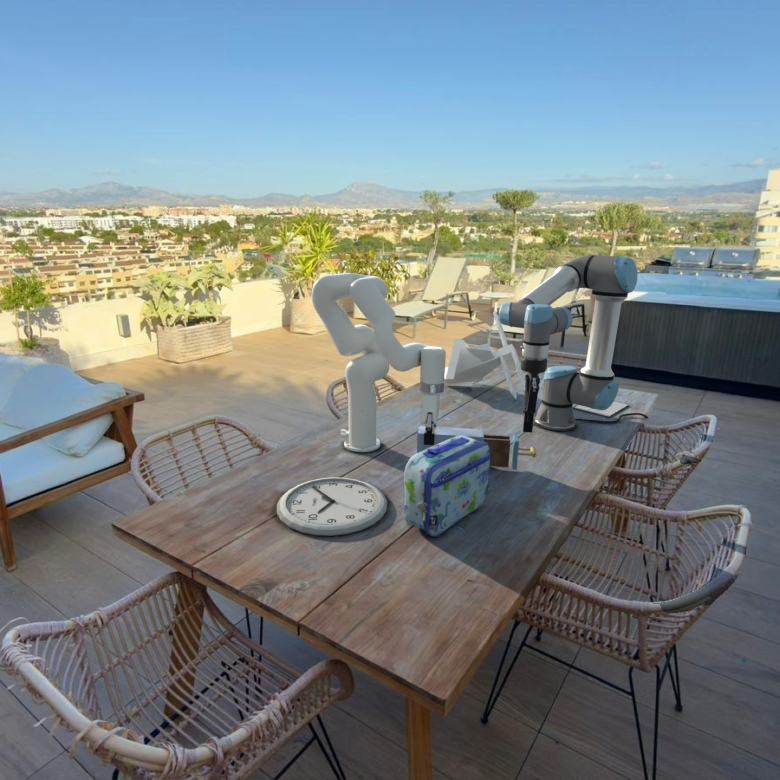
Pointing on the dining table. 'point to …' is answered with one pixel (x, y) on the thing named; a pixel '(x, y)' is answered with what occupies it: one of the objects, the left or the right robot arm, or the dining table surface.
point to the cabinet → (447, 435)
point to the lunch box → (446, 483)
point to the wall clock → (331, 506)
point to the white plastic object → (482, 361)
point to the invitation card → (608, 412)
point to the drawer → (505, 450)
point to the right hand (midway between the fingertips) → (527, 431)
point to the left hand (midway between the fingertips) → (429, 439)
